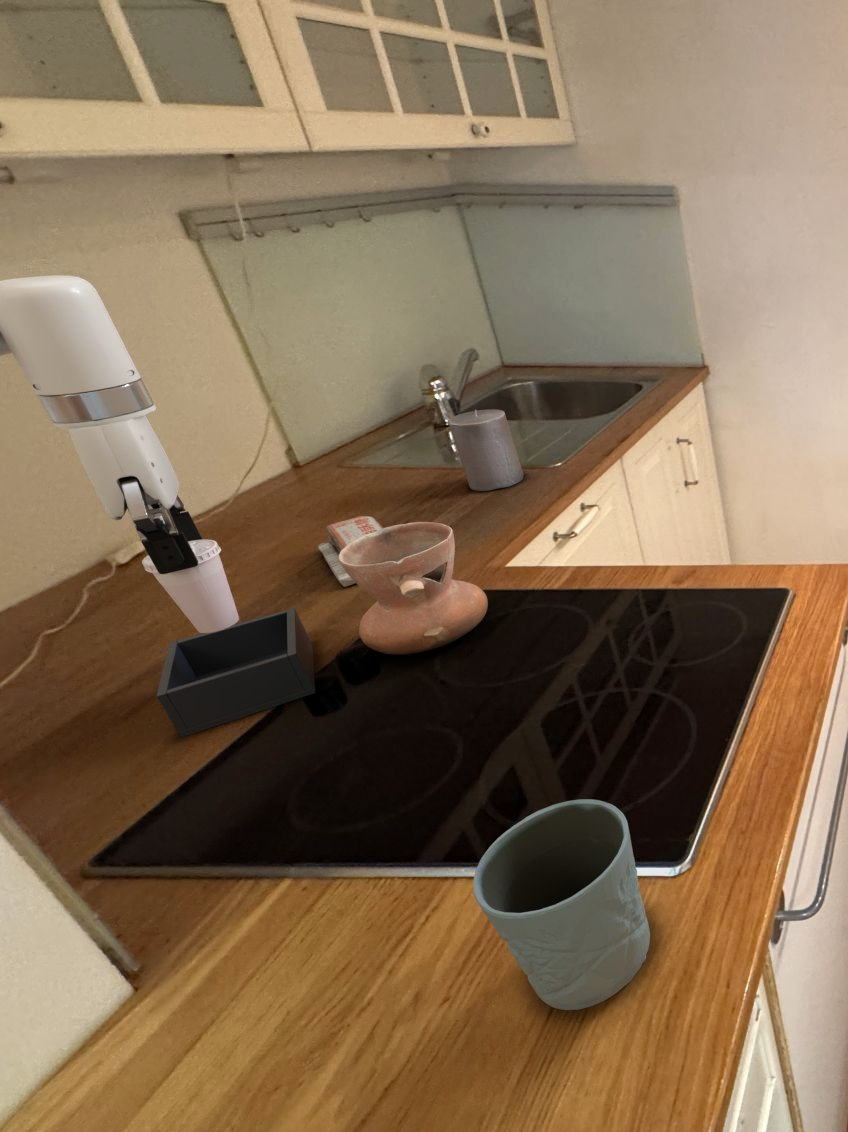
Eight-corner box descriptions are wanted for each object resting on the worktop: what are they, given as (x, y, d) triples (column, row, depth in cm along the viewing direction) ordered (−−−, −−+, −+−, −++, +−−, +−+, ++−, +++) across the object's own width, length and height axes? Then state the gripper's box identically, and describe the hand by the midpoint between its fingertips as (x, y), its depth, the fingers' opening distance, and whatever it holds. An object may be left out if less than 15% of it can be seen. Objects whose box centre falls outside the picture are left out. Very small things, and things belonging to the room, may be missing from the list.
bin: (181, 737, 86) (156, 696, 83) (191, 681, 95) (168, 642, 93) (315, 693, 92) (296, 653, 90) (312, 644, 102) (294, 607, 100)
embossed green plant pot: (670, 895, 65) (640, 790, 60) (646, 1012, 56) (608, 901, 51) (545, 914, 64) (504, 808, 59) (499, 1037, 55) (445, 925, 50)
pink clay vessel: (504, 642, 101) (471, 546, 95) (372, 686, 93) (326, 585, 87) (482, 589, 114) (451, 502, 108) (365, 624, 106) (324, 532, 100)
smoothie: (232, 606, 94) (177, 502, 88) (266, 614, 92) (213, 508, 86) (169, 634, 88) (106, 525, 82) (204, 643, 86) (143, 532, 80)
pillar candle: (496, 471, 159) (474, 401, 152) (535, 475, 156) (514, 403, 150) (457, 489, 150) (432, 416, 144) (498, 493, 148) (474, 419, 141)
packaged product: (308, 527, 125) (380, 507, 131) (320, 553, 127) (390, 533, 133) (330, 561, 113) (408, 538, 120) (343, 589, 115) (418, 565, 122)
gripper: (64, 394, 82) (146, 542, 90) (26, 431, 70) (126, 599, 78) (159, 380, 86) (230, 523, 94) (139, 414, 74) (222, 575, 82)
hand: (182, 556), depth 86 cm, fingers closed on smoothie, 6 cm apart
